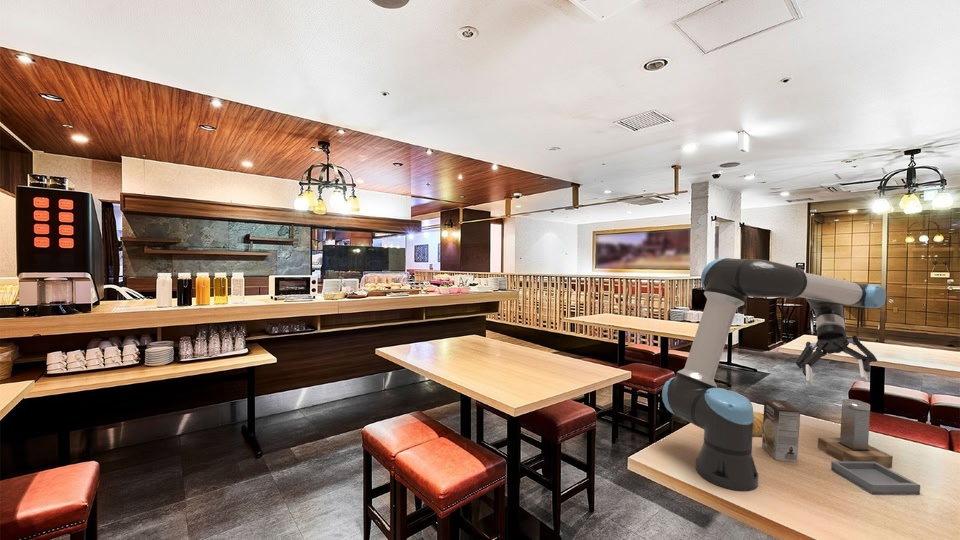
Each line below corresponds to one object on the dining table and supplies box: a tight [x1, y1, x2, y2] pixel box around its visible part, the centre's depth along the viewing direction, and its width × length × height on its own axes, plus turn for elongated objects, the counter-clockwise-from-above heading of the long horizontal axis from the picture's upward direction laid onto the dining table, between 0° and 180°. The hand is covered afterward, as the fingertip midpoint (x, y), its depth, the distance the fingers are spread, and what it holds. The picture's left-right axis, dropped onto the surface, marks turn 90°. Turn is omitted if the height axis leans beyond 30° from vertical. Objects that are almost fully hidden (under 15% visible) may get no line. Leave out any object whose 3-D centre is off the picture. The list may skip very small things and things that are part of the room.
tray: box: [830, 460, 921, 495], centre depth 111 cm, size 13×12×2 cm
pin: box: [839, 398, 871, 451], centre depth 124 cm, size 6×6×18 cm
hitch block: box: [817, 437, 894, 469], centre depth 124 cm, size 12×12×4 cm
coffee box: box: [761, 399, 801, 463], centre depth 126 cm, size 9×6×16 cm
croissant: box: [752, 411, 764, 438], centre depth 143 cm, size 21×10×8 cm, turn 106°
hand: (835, 381), depth 124 cm, fingers open, 13 cm apart
